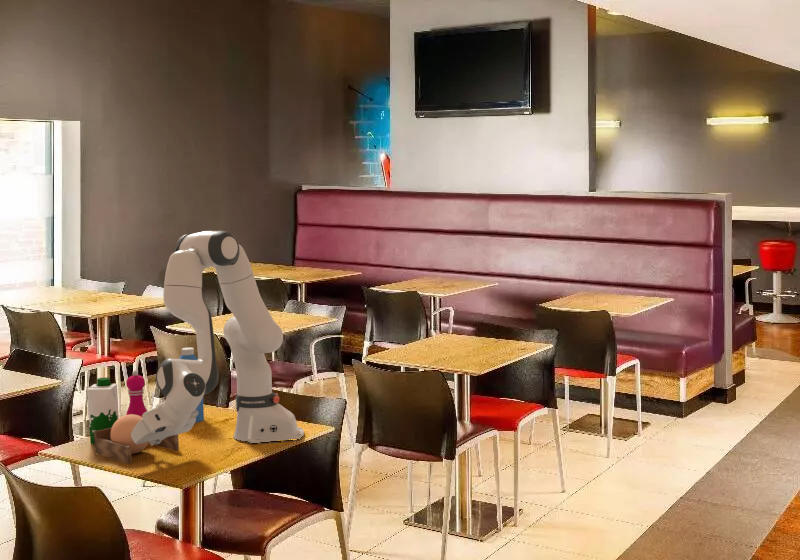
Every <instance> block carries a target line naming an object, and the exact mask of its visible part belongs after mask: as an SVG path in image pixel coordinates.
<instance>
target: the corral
mask: <svg viewBox="0 0 800 560" xmlns="http://www.w3.org/2000/svg"><path fill="white" fill-rule="evenodd" d="M111 429H112V427H111V428H107V429H102V430H98V431H94V442H95V445H94V453H97V454H99V455H98V456H101V455H102V456H101V457H104V456H105V458H107V457H108V458H107V459H112V460H115V461H118V462H121V463H125V464H132V461H133V460H132V454H131V446H128V445H124V444H121V443H117V442H114V441H111ZM179 444H180V443H179V434H177V435H173V436H169V437H166V438H165V439H164V440H162V441H161V442H160V443H159V444H155V445H154V446H156V447H159V448H163V449H167V450H170V451H175V452H177V451H179V449H180V447H179V446H180V445H179ZM148 445H150V443H148ZM97 454H96V455H97Z"/></svg>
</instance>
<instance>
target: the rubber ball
mask: <svg viewBox="0 0 800 560" xmlns="http://www.w3.org/2000/svg"><path fill="white" fill-rule="evenodd" d="M141 419H143V418H142V417H141V416H138V415H133V414H129V415H126V414H125V415H122V416H121V417H119V419H118V420H117V421H116V422H115V423H114V425H113V426H112V429H111V441H114V442H117V443H121V444H124V445H128V446H131V455H134V454H138V453H140V452H142V451H143V450H144V449H145V448H146V447H147V446H148V445H149V444H148V443H149V442H145V443H141V444H135V443H134V441H133V439H132V437H131V432H132V431H133V429H134V427H135V426H136V425H137V423H138V422H139V421H140V420H141Z"/></svg>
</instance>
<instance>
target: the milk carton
mask: <svg viewBox="0 0 800 560" xmlns="http://www.w3.org/2000/svg"><path fill="white" fill-rule="evenodd" d="M86 394H87V409H88V411H87V413H88V430H89V439H90V445H92V444H95V442H94V431H98V430H102V429H107V428H111V427H112V426H113V425H114V423H115V422H116V421H117V420H118V419H119V418H120V416H119V398H118V394H119V393H118V383H111V378H110V377H98V378H97V379H96V383H94V384H92V385H91V386H89V387H88V388H87V389H86Z"/></svg>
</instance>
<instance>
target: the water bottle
mask: <svg viewBox="0 0 800 560" xmlns="http://www.w3.org/2000/svg"><path fill="white" fill-rule="evenodd" d="M194 349H195V348H194V347H183V348H181V355H180V356H179V357H178V359H184V360H198V356H196V354H195V350H194ZM195 410H196V411H198V412H199V414H198V415H197V416H196V417H195V418H196V421H195V423H194V424H196V423H200V422H203V421H205V414H204V413H205V412H204V397H203V398H202V400H201V402H200V404H199V405H198V407H197V408H196V409H195Z"/></svg>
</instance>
